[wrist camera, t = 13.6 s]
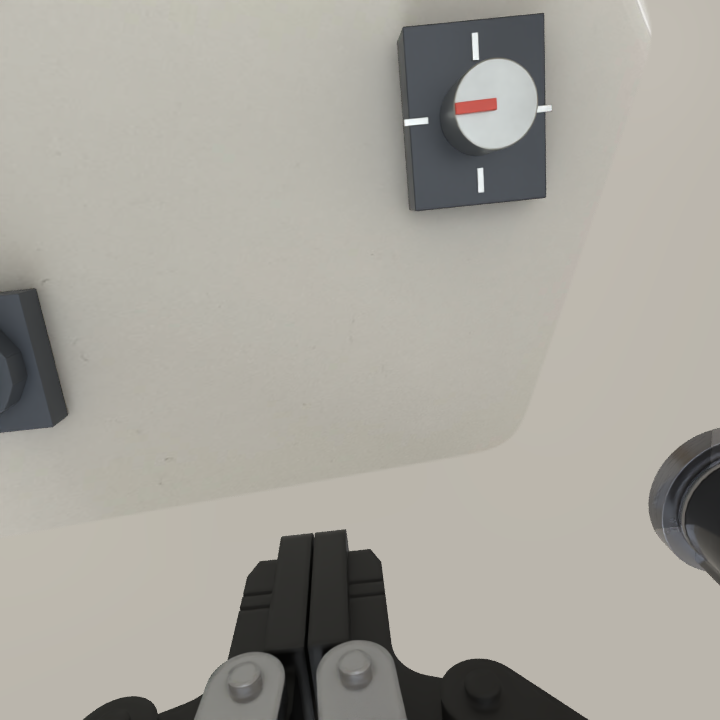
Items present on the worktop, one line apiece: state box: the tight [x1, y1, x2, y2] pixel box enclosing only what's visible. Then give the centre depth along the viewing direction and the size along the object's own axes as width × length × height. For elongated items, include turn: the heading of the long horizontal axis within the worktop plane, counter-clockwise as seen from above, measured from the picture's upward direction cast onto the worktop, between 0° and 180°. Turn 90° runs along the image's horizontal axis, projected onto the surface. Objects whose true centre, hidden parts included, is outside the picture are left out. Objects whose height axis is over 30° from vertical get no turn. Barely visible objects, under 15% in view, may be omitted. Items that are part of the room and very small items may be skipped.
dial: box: [440, 57, 538, 156], centre depth 31 cm, size 4×4×4 cm
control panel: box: [397, 13, 552, 211], centre depth 35 cm, size 10×9×3 cm
